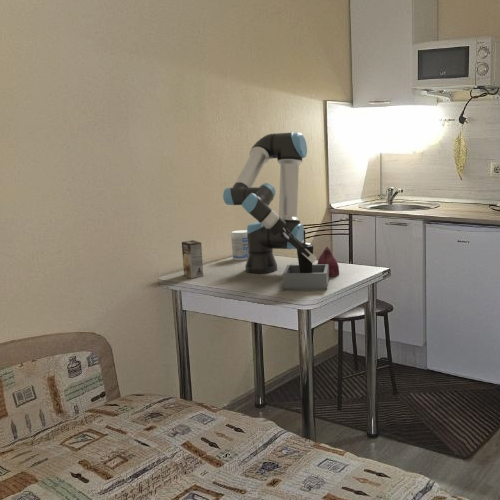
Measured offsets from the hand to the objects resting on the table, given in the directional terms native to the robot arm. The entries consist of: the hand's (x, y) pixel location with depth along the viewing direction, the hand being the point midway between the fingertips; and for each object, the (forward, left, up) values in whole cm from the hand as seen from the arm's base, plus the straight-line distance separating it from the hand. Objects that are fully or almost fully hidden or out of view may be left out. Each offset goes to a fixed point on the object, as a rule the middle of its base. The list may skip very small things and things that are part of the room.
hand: (313, 259), depth 294 cm
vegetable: (-19, +5, -11) cm, 22 cm away
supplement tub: (-59, -41, -11) cm, 73 cm away
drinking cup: (+1, -3, -8) cm, 9 cm away
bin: (0, -3, -11) cm, 12 cm away
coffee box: (-23, -58, -11) cm, 64 cm away
